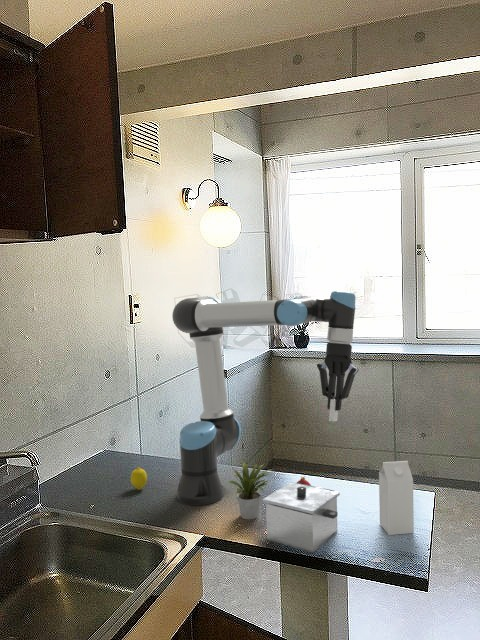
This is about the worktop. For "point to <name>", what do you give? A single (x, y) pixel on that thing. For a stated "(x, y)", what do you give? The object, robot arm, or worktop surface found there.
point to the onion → (303, 481)
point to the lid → (302, 497)
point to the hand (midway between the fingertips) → (333, 420)
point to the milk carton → (396, 498)
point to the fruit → (138, 478)
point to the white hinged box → (301, 526)
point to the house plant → (249, 491)
